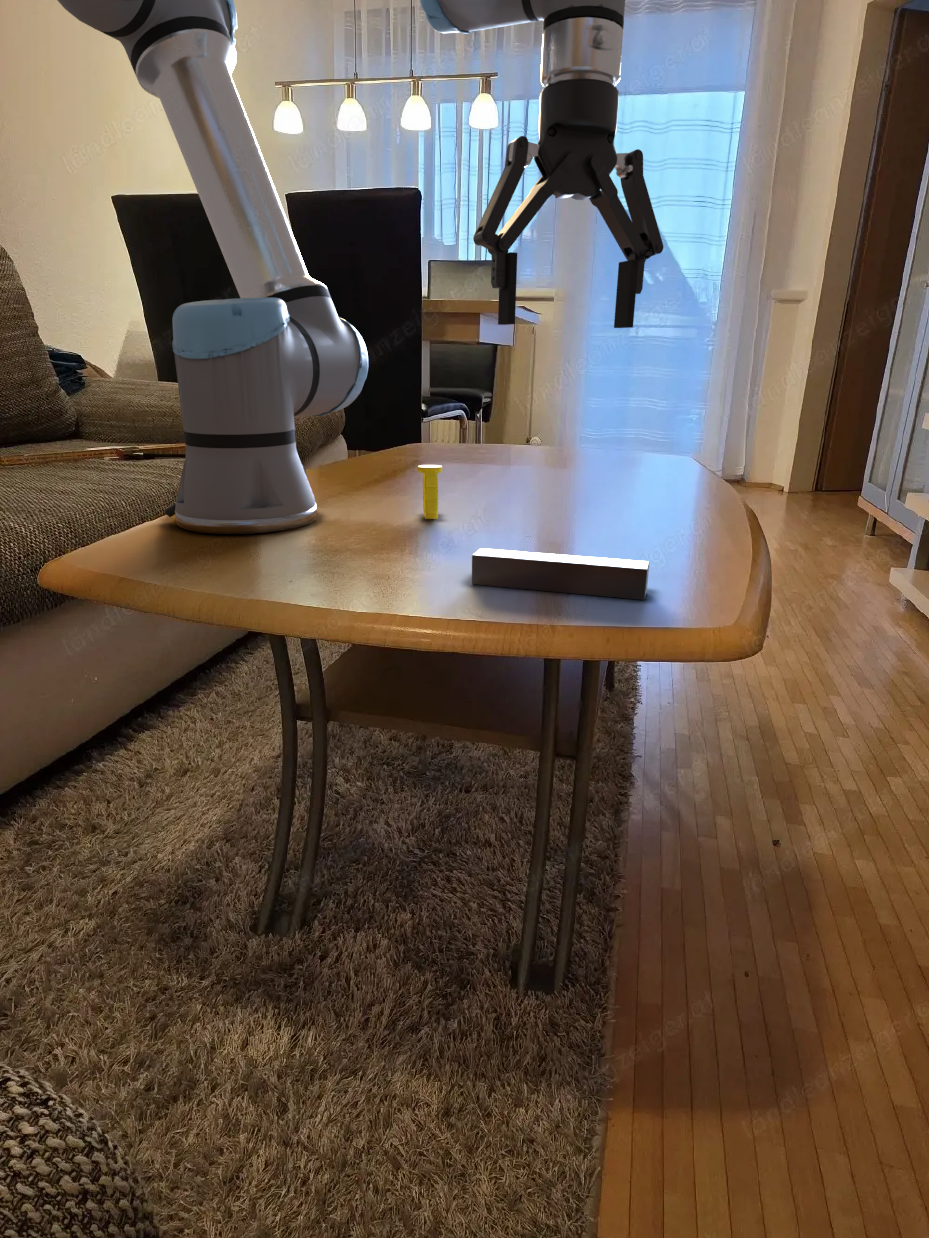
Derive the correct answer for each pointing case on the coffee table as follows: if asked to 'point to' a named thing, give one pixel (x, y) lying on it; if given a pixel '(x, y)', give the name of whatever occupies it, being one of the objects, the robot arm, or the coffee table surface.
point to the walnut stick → (561, 573)
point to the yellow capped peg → (430, 489)
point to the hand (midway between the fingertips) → (566, 326)
